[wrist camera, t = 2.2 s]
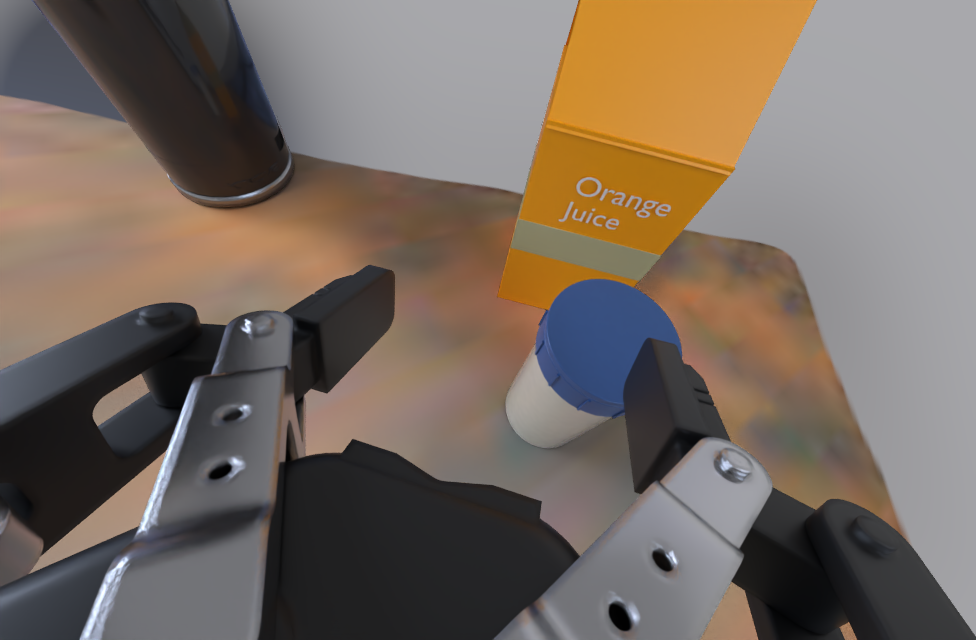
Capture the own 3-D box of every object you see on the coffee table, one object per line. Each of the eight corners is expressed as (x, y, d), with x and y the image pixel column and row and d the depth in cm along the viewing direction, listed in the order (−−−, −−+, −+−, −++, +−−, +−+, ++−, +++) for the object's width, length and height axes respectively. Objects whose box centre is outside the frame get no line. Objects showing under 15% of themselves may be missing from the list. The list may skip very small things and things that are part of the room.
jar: (489, 409, 24) (523, 341, 14) (536, 356, 26) (591, 269, 17) (552, 466, 22) (633, 432, 13) (595, 405, 25) (690, 340, 16)
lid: (509, 355, 16) (518, 336, 14) (579, 280, 18) (593, 257, 17) (618, 447, 14) (642, 438, 13) (677, 352, 17) (703, 334, 15)
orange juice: (602, 325, 28) (869, 20, 11) (495, 297, 28) (591, -53, 11) (606, 252, 32) (808, -57, 15) (513, 228, 32) (604, -110, 15)
